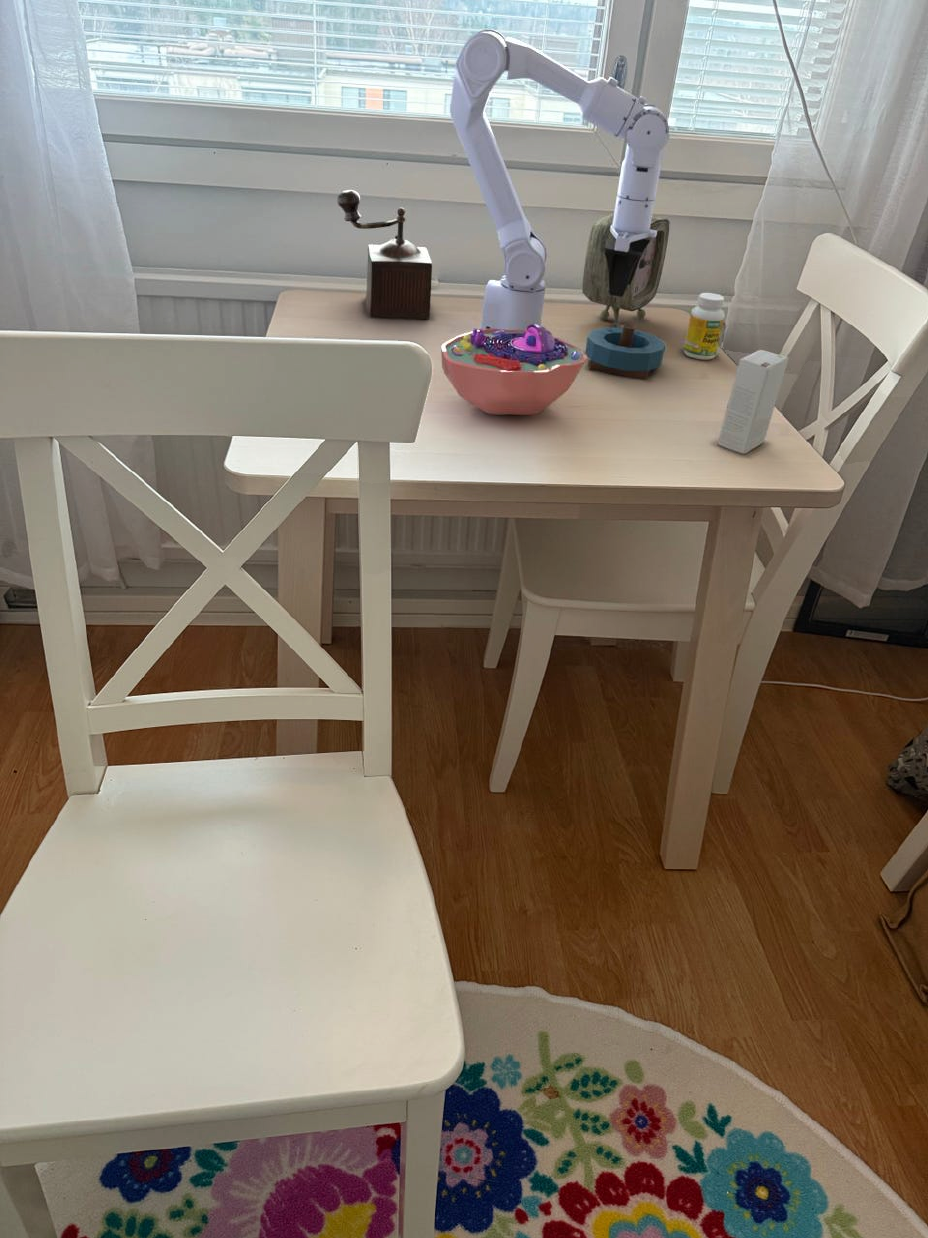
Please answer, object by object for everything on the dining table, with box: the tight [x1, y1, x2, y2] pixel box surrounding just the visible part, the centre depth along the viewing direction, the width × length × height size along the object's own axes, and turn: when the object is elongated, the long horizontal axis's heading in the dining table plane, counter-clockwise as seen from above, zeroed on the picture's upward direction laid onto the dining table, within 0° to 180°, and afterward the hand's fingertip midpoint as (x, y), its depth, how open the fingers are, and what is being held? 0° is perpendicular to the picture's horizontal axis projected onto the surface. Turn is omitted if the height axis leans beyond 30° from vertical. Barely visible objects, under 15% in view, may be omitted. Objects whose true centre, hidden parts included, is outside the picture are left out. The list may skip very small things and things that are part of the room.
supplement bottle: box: [683, 292, 726, 361], centre depth 158 cm, size 5×5×10 cm
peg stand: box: [588, 324, 651, 380], centre depth 151 cm, size 9×9×6 cm
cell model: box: [440, 324, 588, 416], centre depth 131 cm, size 17×20×11 cm
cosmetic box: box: [717, 349, 789, 455], centre depth 127 cm, size 6×4×12 cm
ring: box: [584, 327, 666, 371], centre depth 152 cm, size 12×12×3 cm
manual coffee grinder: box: [336, 189, 433, 320], centre depth 162 cm, size 16×11×18 cm
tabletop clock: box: [581, 213, 671, 328], centre depth 165 cm, size 14×9×25 cm, turn 148°
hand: (620, 289), depth 153 cm, fingers open, 7 cm apart
